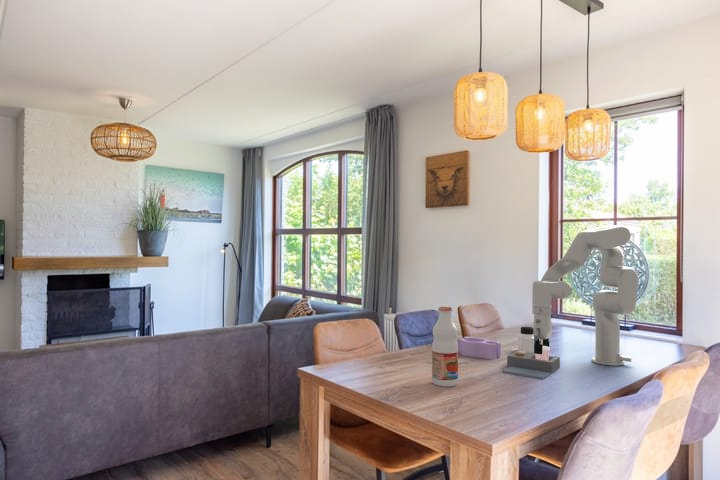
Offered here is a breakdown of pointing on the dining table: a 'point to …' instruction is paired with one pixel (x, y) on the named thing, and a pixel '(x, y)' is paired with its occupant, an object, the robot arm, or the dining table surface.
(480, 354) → the purple cup holder
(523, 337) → the medicine bottle
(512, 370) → the mat
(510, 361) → the grey desk organizer
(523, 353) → the plunger
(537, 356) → the beverage cup
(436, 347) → the fruit juice
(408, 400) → the dining table surface
